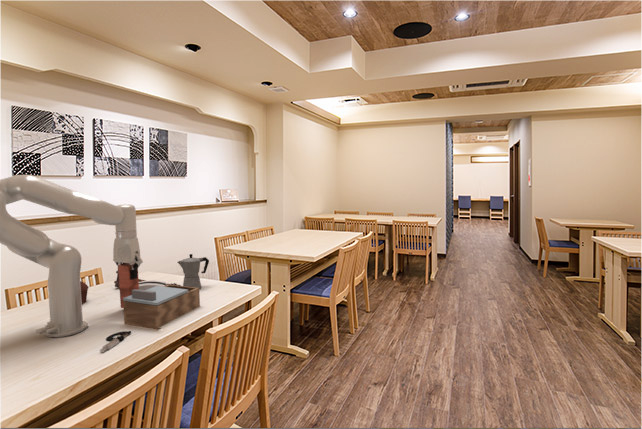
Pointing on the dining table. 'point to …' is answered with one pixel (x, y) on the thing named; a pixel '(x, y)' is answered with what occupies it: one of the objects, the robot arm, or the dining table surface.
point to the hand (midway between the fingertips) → (128, 277)
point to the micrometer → (114, 340)
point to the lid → (154, 295)
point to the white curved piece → (150, 284)
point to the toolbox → (161, 309)
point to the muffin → (83, 291)
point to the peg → (126, 282)
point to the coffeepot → (192, 270)
